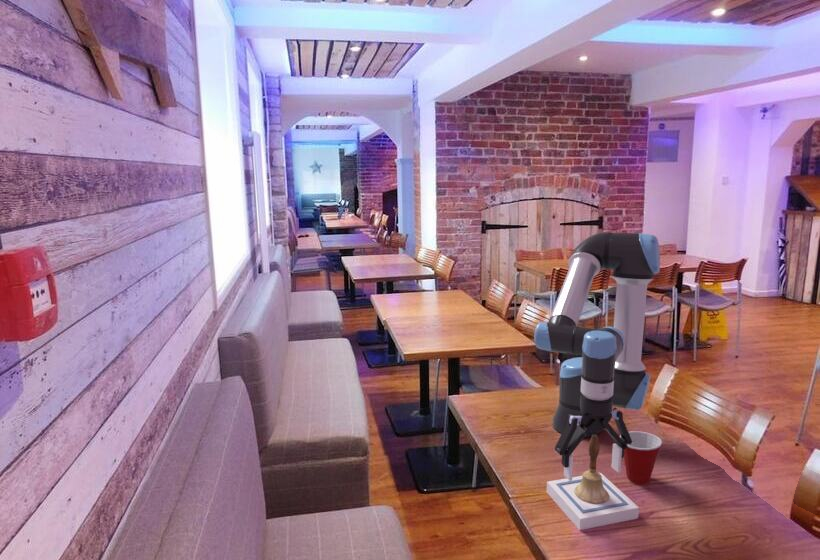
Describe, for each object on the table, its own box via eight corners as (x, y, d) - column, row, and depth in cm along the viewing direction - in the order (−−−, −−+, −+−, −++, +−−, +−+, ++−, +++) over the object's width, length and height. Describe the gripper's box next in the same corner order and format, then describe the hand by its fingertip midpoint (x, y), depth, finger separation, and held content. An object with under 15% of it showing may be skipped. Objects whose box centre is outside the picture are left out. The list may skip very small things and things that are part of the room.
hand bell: (569, 485, 140) (572, 429, 136) (600, 483, 140) (603, 427, 137) (582, 504, 131) (585, 445, 128) (614, 502, 132) (618, 443, 129)
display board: (599, 482, 146) (600, 471, 145) (638, 518, 131) (638, 506, 130) (546, 491, 142) (546, 481, 141) (579, 530, 127) (580, 518, 126)
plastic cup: (626, 463, 155) (629, 425, 153) (665, 477, 147) (668, 437, 145) (609, 478, 148) (611, 438, 145) (649, 494, 140) (652, 452, 138)
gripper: (558, 407, 124) (554, 489, 128) (651, 394, 130) (644, 474, 134) (542, 394, 131) (539, 473, 135) (631, 383, 137) (625, 458, 141)
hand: (592, 473), depth 135 cm, fingers open, 13 cm apart
